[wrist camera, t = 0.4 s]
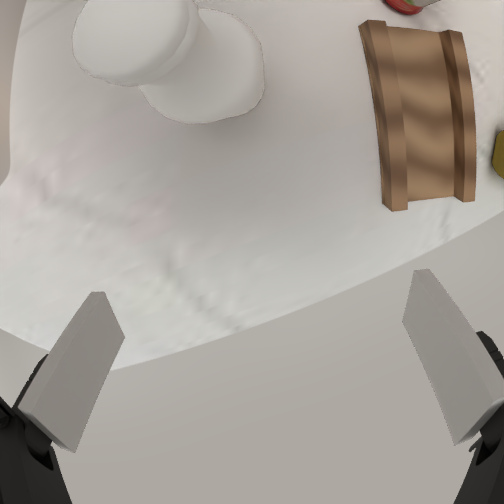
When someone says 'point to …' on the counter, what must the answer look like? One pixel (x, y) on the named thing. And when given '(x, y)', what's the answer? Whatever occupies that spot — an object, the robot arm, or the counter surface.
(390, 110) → the rest
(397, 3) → the liquor
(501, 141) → the flower pot
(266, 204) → the counter surface
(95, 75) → the bottle
